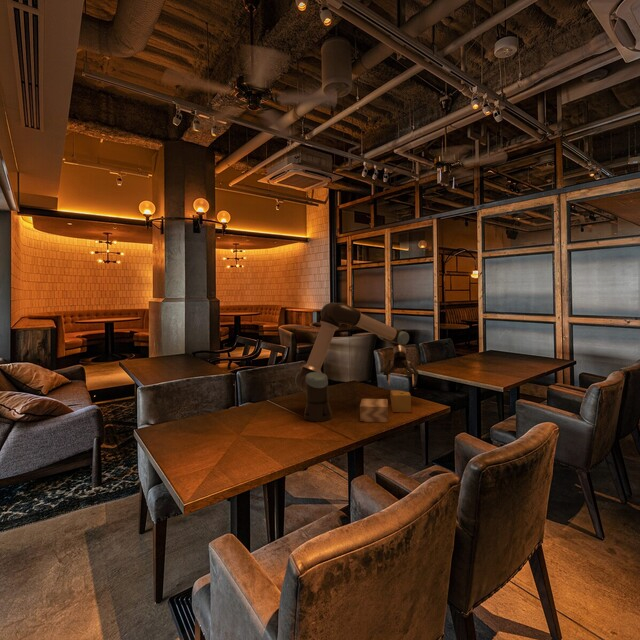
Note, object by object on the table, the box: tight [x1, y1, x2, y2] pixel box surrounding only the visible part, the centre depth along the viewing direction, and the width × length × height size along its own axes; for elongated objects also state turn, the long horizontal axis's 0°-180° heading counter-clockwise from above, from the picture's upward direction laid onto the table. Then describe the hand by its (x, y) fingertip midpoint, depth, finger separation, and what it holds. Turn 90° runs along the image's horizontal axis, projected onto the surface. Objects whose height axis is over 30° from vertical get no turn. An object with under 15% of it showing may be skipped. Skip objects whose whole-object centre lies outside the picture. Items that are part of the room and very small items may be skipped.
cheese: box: [389, 389, 412, 413], centre depth 208 cm, size 10×11×10 cm
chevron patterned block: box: [359, 398, 389, 423], centre depth 197 cm, size 14×14×8 cm
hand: (401, 384), depth 216 cm, fingers open, 13 cm apart
